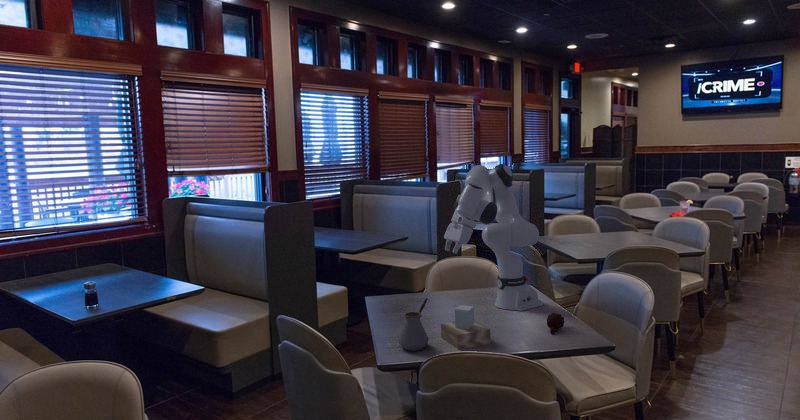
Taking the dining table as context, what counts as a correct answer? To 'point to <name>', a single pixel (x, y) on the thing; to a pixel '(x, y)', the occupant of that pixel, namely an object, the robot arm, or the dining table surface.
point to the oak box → (465, 335)
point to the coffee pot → (413, 331)
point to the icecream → (555, 322)
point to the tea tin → (464, 317)
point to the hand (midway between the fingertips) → (450, 251)
